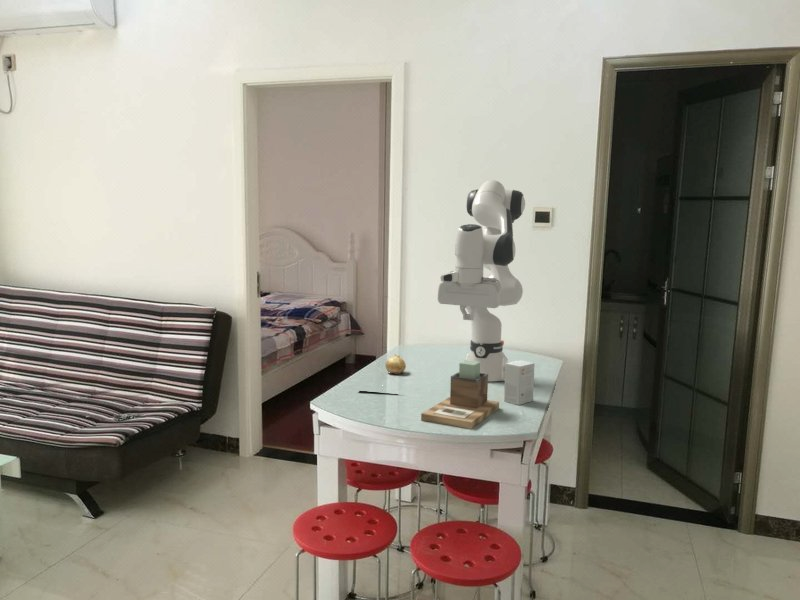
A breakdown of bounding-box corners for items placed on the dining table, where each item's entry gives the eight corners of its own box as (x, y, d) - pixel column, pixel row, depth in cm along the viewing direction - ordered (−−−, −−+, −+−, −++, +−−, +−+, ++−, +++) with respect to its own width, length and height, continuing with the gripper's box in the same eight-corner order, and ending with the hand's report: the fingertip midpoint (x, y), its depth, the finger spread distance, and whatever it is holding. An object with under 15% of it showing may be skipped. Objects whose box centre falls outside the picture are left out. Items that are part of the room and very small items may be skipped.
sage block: (465, 375, 205) (465, 360, 204) (479, 377, 202) (480, 362, 202) (459, 378, 200) (459, 363, 200) (474, 380, 198) (474, 365, 197)
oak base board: (452, 400, 211) (453, 368, 210) (499, 408, 204) (500, 374, 203) (421, 420, 190) (421, 384, 189) (471, 428, 183) (472, 391, 182)
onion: (408, 374, 247) (408, 356, 246) (389, 376, 245) (389, 357, 244) (401, 370, 255) (401, 352, 254) (382, 371, 252) (382, 353, 251)
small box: (518, 397, 217) (519, 359, 216) (533, 401, 213) (535, 362, 211) (503, 401, 212) (504, 362, 210) (519, 405, 207) (520, 366, 206)
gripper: (504, 277, 199) (502, 321, 201) (443, 273, 208) (443, 315, 211) (497, 279, 194) (496, 324, 196) (435, 275, 203) (435, 318, 205)
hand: (468, 319), depth 203 cm, fingers closed
